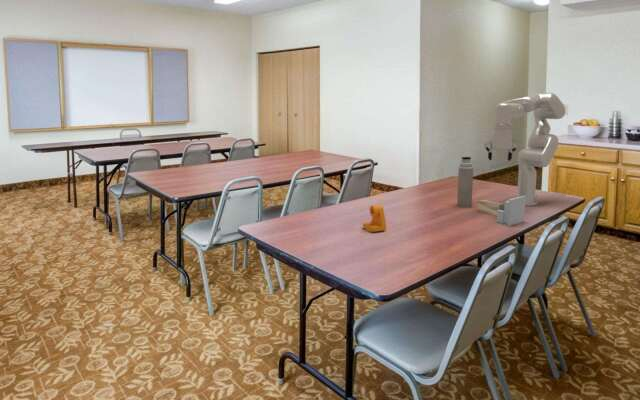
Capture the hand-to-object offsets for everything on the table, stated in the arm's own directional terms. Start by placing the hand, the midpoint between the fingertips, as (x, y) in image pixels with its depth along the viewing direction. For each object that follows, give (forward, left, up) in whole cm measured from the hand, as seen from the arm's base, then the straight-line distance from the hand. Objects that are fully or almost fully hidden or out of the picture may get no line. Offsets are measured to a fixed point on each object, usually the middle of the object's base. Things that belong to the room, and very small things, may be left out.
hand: (499, 160), depth 264 cm
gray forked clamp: (+14, +16, -28) cm, 35 cm away
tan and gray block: (+5, +1, -28) cm, 29 cm away
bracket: (+74, -19, -29) cm, 81 cm away
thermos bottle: (+1, -20, -29) cm, 35 cm away
